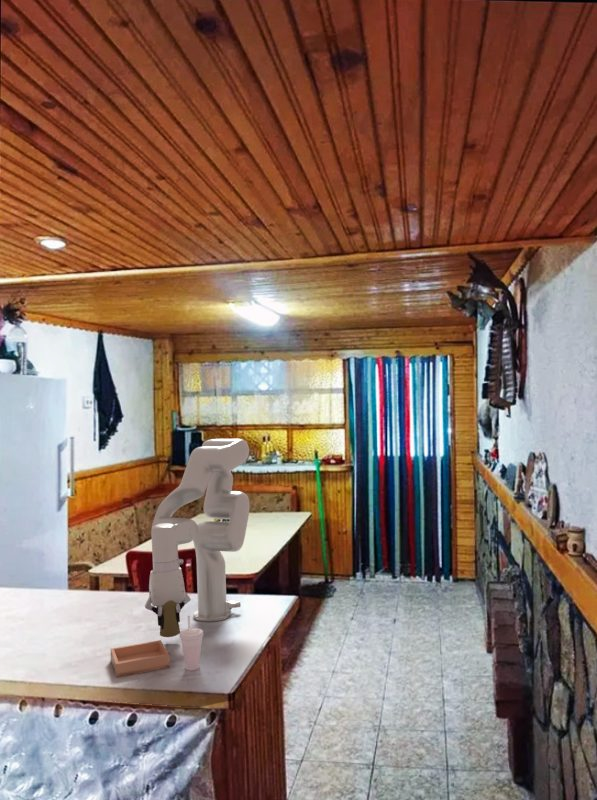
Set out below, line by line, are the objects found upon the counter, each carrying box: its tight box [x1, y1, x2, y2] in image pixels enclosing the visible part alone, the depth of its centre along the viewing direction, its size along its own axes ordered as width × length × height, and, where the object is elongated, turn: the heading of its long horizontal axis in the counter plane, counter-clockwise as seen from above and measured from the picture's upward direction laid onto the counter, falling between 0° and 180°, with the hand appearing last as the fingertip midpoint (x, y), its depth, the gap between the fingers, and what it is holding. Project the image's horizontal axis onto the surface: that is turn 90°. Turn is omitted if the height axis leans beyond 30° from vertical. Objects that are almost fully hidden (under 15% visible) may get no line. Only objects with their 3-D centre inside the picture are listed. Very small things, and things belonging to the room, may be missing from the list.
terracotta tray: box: [110, 639, 170, 678], centre depth 179 cm, size 14×12×4 cm
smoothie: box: [179, 615, 204, 671], centre depth 176 cm, size 6×6×14 cm
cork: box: [159, 601, 181, 638], centre depth 194 cm, size 6×6×11 cm
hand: (169, 625), depth 194 cm, fingers closed on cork, 3 cm apart
